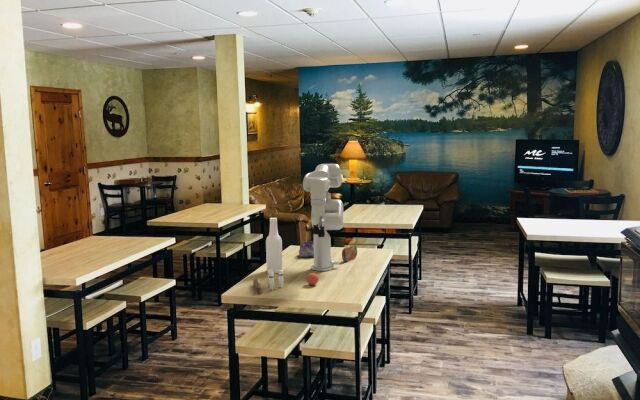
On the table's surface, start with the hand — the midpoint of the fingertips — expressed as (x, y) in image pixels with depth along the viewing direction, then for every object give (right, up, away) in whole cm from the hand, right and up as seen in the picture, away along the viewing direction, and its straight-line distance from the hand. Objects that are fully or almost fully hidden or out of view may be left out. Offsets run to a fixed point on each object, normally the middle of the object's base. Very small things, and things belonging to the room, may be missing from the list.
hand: (318, 235), depth 275 cm
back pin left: (-23, -26, -12) cm, 36 cm away
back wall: (-30, -26, -11) cm, 41 cm away
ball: (-3, -22, -5) cm, 22 cm away
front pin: (-19, -25, -8) cm, 33 cm away
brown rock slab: (+18, -18, +46) cm, 52 cm away
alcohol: (-25, -22, +22) cm, 39 cm away
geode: (-5, -16, +61) cm, 63 cm away
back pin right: (-24, -25, -7) cm, 36 cm away
